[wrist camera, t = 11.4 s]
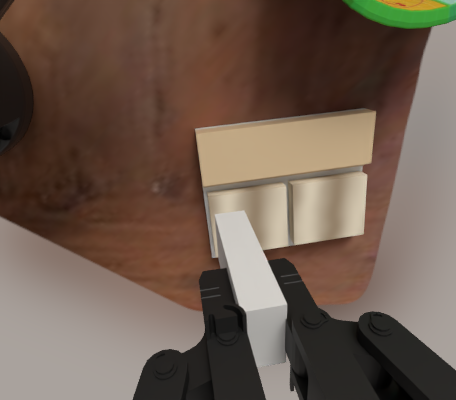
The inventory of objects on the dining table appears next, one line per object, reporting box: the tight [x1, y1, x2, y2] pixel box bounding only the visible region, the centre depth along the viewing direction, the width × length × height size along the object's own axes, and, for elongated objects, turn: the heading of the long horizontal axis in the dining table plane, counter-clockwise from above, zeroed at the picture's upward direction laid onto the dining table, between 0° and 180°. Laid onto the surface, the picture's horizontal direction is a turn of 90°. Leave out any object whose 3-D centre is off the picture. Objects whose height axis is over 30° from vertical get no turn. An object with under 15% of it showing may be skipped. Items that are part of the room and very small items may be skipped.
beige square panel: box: [288, 171, 367, 245], centre depth 41 cm, size 9×8×2 cm
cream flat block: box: [207, 182, 288, 258], centre depth 40 cm, size 9×8×2 cm
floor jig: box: [195, 108, 376, 258], centre depth 40 cm, size 20×17×3 cm
